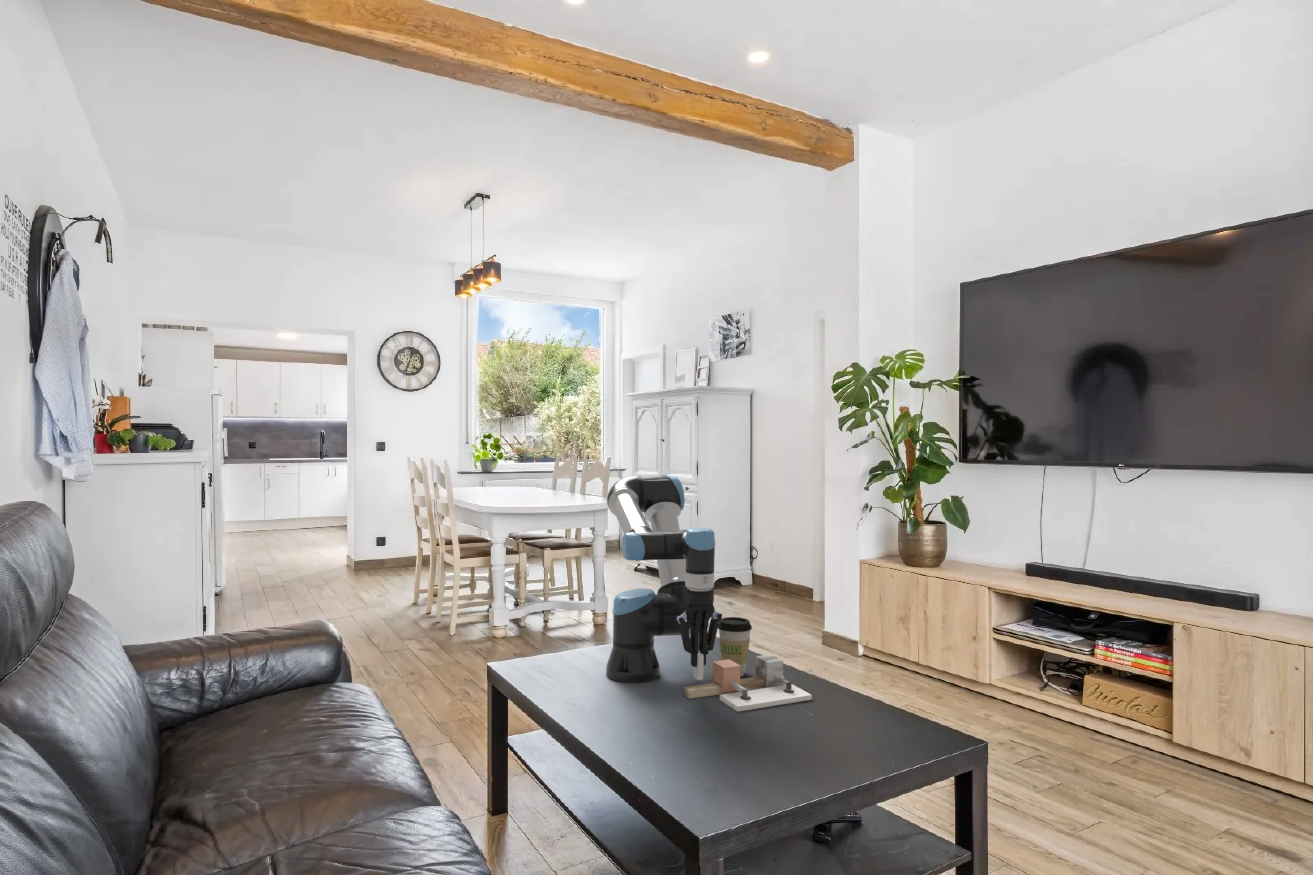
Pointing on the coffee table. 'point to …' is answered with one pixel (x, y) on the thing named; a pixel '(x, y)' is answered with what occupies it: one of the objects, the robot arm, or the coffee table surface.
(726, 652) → the coffee cup
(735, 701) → the hole plate
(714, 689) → the rail
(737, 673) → the sliding leg
